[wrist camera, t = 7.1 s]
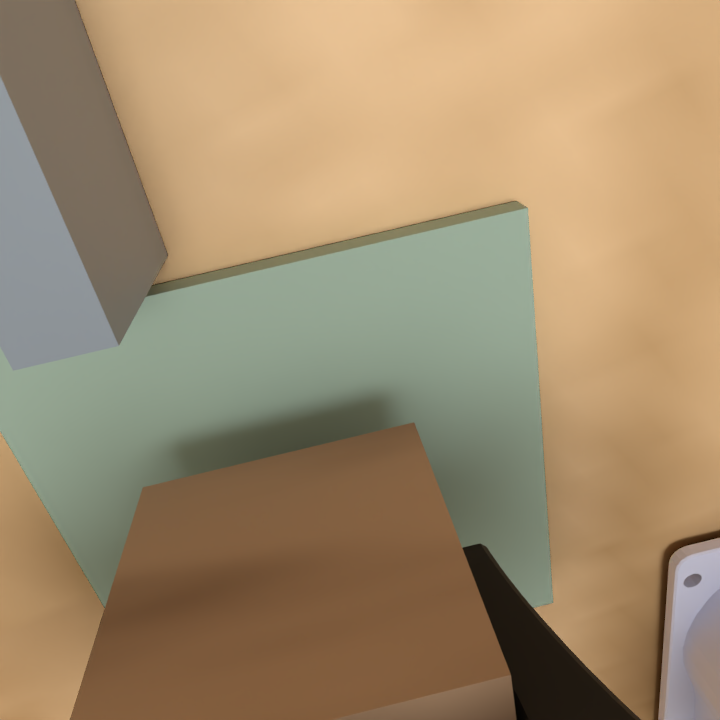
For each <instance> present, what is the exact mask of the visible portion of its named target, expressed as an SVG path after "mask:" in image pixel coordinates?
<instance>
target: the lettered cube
mask: <svg viewBox="0 0 720 720" xmlns="http://www.w3.org/2000/svg"><path fill="white" fill-rule="evenodd" d="M70 720H517V719H516V711H515V703H514V695H513V688H512V680H511V674H510V671H509V669H508V666H507V663H506V661H505V658H504V656H503V653H502V650H501V648H500V645H499V642H498V640H497V637H496V635H495V632H494V629H493V627H492V624H491V622H490V619H489V616H488V614H487V611H486V609H485V606H484V603H483V601H482V598H481V596H480V593H479V590H478V588H477V585H476V582H475V580H474V577H473V575H472V572H471V569H470V567H469V564H468V562H467V559H466V556H465V554H464V551H463V549H462V546H461V543H460V541H459V538H458V536H457V533H456V530H455V528H454V525H453V523H452V520H451V517H450V515H449V512H448V509H447V507H446V504H445V502H444V499H443V496H442V494H441V491H440V489H439V486H438V483H437V481H436V478H435V476H434V473H433V470H432V468H431V465H430V463H429V460H428V457H427V455H426V452H425V449H424V447H423V444H422V442H421V439H420V436H419V434H418V431H417V429H416V426H415V423H414V422H413V423H409V424H405V425H401V426H396V427H392V428H388V429H384V430H380V431H376V432H371V433H367V434H363V435H359V436H355V437H351V438H346V439H342V440H338V441H334V442H330V443H326V444H321V445H317V446H313V447H309V448H305V449H301V450H296V451H292V452H288V453H284V454H280V455H276V456H271V457H267V458H263V459H259V460H255V461H251V462H246V463H242V464H238V465H234V466H230V467H226V468H221V469H217V470H213V471H209V472H205V473H201V474H196V475H192V476H188V477H184V478H180V479H175V480H171V481H167V482H163V483H159V484H155V485H150V486H146V487H143V488H142V491H141V495H140V498H139V501H138V504H137V507H136V511H135V514H134V517H133V520H132V523H131V527H130V530H129V533H128V536H127V539H126V543H125V546H124V549H123V552H122V555H121V559H120V562H119V565H118V568H117V571H116V575H115V578H114V581H113V584H112V587H111V590H110V594H109V597H108V600H107V603H106V606H105V610H104V613H103V616H102V619H101V622H100V626H99V629H98V632H97V635H96V638H95V642H94V645H93V648H92V651H91V654H90V658H89V661H88V664H87V667H86V670H85V674H84V677H83V680H82V683H81V686H80V690H79V693H78V696H77V699H76V702H75V705H74V709H73V712H72V715H71V718H70Z"/></svg>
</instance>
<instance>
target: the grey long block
mask: <svg viewBox="0 0 720 720" xmlns="http://www.w3.org/2000/svg"><path fill="white" fill-rule="evenodd" d="M167 256H168V254H167V252H166V249H165V246H164V243H163V241H162V238H161V235H160V232H159V230H158V227H157V224H156V221H155V219H154V216H153V213H152V210H151V208H150V205H149V202H148V200H147V197H146V194H145V191H144V189H143V186H142V183H141V180H140V178H139V175H138V172H137V169H136V167H135V164H134V161H133V158H132V156H131V153H130V150H129V148H128V145H127V142H126V139H125V137H124V134H123V131H122V128H121V126H120V123H119V120H118V117H117V115H116V112H115V109H114V106H113V104H112V101H111V98H110V96H109V93H108V90H107V87H106V85H105V82H104V79H103V76H102V74H101V71H100V68H99V65H98V63H97V60H96V57H95V54H94V52H93V49H92V46H91V44H90V41H89V38H88V35H87V33H86V30H85V27H84V24H83V22H82V19H81V16H80V13H79V11H78V8H77V5H76V2H75V0H0V347H1V349H2V351H3V353H4V355H5V357H6V358H7V360H8V362H9V364H10V366H11V368H12V369H13V371H14V370H19V369H23V368H27V367H31V366H36V365H40V364H44V363H49V362H53V361H57V360H61V359H66V358H70V357H74V356H78V355H83V354H87V353H91V352H95V351H100V350H104V349H108V348H113V347H117V346H119V345H120V343H121V341H122V339H123V338H124V336H125V334H126V332H127V330H128V328H129V326H130V325H131V323H132V321H133V319H134V317H135V315H136V314H137V312H138V310H139V308H140V306H141V304H142V303H143V301H144V299H145V297H146V295H147V293H148V291H149V290H150V288H151V286H152V284H153V282H154V280H155V279H156V277H157V275H158V273H159V271H160V269H161V268H162V266H163V264H164V262H165V260H166V258H167Z"/></svg>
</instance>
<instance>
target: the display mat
mask: <svg viewBox="0 0 720 720" xmlns="http://www.w3.org/2000/svg"><path fill="white" fill-rule="evenodd" d="M413 422H414V423H415V426H416V429H417V431H418V434H419V436H420V439H421V442H422V444H423V447H424V449H425V452H426V455H427V457H428V460H429V463H430V465H431V468H432V470H433V473H434V476H435V478H436V481H437V483H438V486H439V489H440V491H441V494H442V496H443V499H444V502H445V504H446V507H447V509H448V512H449V515H450V517H451V520H452V523H453V525H454V528H455V530H456V533H457V536H458V538H459V541H460V543H461V546H462V548H463V547H467V546H471V545H475V544H479V543H481V544H482V545H484V546H486V547H487V548H488V549H489V551H490V553H491V554H492V556H493V557H494V558H495V560H496V561H497V563H498V564H499V566H500V567H501V568H502V570H503V571H504V572H505V574H506V575H507V576H508V578H509V579H510V580H511V582H512V583H513V584H514V585H515V587H516V588H517V589H518V590H519V592H520V593H521V594H522V595H523V597H524V598H525V599H526V600H527V601H528V603H529V604H530V605H531V606H532V607H533V608H534V607H539V606H543V605H547V604H551V603H553V592H552V577H551V561H550V546H549V530H548V514H547V499H546V483H545V468H544V452H543V436H542V421H541V405H540V390H539V374H538V359H537V343H536V327H535V312H534V296H533V281H532V265H531V250H530V234H529V218H528V208H527V207H526V206H524V205H522V204H521V203H519V202H517V201H514V202H510V203H506V204H501V205H497V206H493V207H488V208H484V209H480V210H475V211H471V212H467V213H463V214H458V215H454V216H450V217H445V218H441V219H437V220H432V221H428V222H424V223H420V224H415V225H411V226H407V227H402V228H398V229H394V230H389V231H385V232H381V233H377V234H372V235H368V236H364V237H359V238H355V239H351V240H346V241H342V242H338V243H334V244H329V245H325V246H321V247H316V248H312V249H308V250H303V251H299V252H295V253H291V254H286V255H282V256H278V257H273V258H269V259H265V260H260V261H256V262H252V263H248V264H243V265H239V266H235V267H230V268H226V269H222V270H217V271H213V272H209V273H205V274H200V275H196V276H192V277H187V278H183V279H179V280H174V281H170V282H166V283H162V284H157V285H153V286H151V288H150V290H149V291H148V293H147V295H146V297H145V299H144V301H143V303H142V304H141V306H140V308H139V310H138V312H137V314H136V315H135V317H134V319H133V321H132V323H131V325H130V326H129V328H128V330H127V332H126V334H125V336H124V338H123V339H122V341H121V343H120V345H119V346H117V347H113V348H108V349H104V350H100V351H95V352H91V353H87V354H83V355H78V356H74V357H70V358H66V359H61V360H57V361H53V362H49V363H44V364H40V365H36V366H31V367H27V368H23V369H19V370H14V371H13V369H12V368H11V366H10V364H9V362H8V360H7V358H6V357H5V355H4V353H3V351H2V349H1V347H0V432H1V434H2V435H3V437H4V439H5V440H6V442H7V444H8V445H9V447H10V449H11V450H12V452H13V454H14V456H15V457H16V459H17V461H18V462H19V464H20V466H21V467H22V469H23V471H24V472H25V474H26V476H27V478H28V479H29V481H30V483H31V484H32V486H33V488H34V489H35V491H36V493H37V494H38V496H39V498H40V500H41V501H42V503H43V505H44V506H45V508H46V510H47V511H48V513H49V515H50V516H51V518H52V520H53V522H54V523H55V525H56V527H57V528H58V530H59V532H60V533H61V535H62V537H63V538H64V540H65V542H66V544H67V545H68V547H69V549H70V550H71V552H72V554H73V555H74V557H75V559H76V560H77V562H78V564H79V566H80V567H81V569H82V571H83V572H84V574H85V576H86V577H87V579H88V581H89V582H90V584H91V586H92V588H93V589H94V591H95V593H96V594H97V596H98V598H99V599H100V601H101V603H102V604H103V606H104V608H105V606H106V603H107V600H108V597H109V594H110V590H111V587H112V584H113V581H114V578H115V575H116V571H117V568H118V565H119V562H120V559H121V555H122V552H123V549H124V546H125V543H126V539H127V536H128V533H129V530H130V527H131V523H132V520H133V517H134V514H135V511H136V507H137V504H138V501H139V498H140V495H141V491H142V488H143V487H146V486H150V485H155V484H159V483H163V482H167V481H171V480H175V479H180V478H184V477H188V476H192V475H196V474H201V473H205V472H209V471H213V470H217V469H221V468H226V467H230V466H234V465H238V464H242V463H246V462H251V461H255V460H259V459H263V458H267V457H271V456H276V455H280V454H284V453H288V452H292V451H296V450H301V449H305V448H309V447H313V446H317V445H321V444H326V443H330V442H334V441H338V440H342V439H346V438H351V437H355V436H359V435H363V434H367V433H371V432H376V431H380V430H384V429H388V428H392V427H396V426H401V425H405V424H409V423H413Z"/></svg>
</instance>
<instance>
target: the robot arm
mask: <svg viewBox="0 0 720 720" xmlns="http://www.w3.org/2000/svg"><path fill="white" fill-rule="evenodd" d="M462 549H463V551H464V554H465V556H466V559H467V562H468V564H469V567H470V569H471V572H472V575H473V577H474V580H475V582H476V585H477V588H478V590H479V593H480V596H481V598H482V601H483V603H484V606H485V609H486V611H487V614H488V616H489V619H490V622H491V624H492V627H493V629H494V632H495V635H496V637H497V640H498V642H499V645H500V648H501V650H502V653H503V656H504V658H505V661H506V663H507V666H508V669H509V671H510V674H511V680H512V688H513V695H514V703H515V711H516V719H517V720H641V719H640V718H639V717H637V716H636V715H635V714H634V713H633V712H632V711H631V710H630V709H629V708H628V707H627V706H626V705H625V704H624V703H623V702H622V701H621V700H619V699H618V698H617V697H616V696H615V695H614V694H613V693H612V692H611V691H610V690H609V689H608V688H607V687H606V686H605V685H604V684H603V683H602V682H601V681H600V680H599V679H598V678H597V677H596V676H595V675H594V674H593V673H592V672H591V671H590V670H589V669H588V668H587V667H586V666H585V665H584V664H583V663H582V662H581V661H580V659H579V658H578V657H577V656H576V655H575V654H574V653H573V652H572V651H571V650H570V649H569V648H568V647H567V646H566V645H565V643H564V642H563V641H562V640H561V639H560V638H559V637H558V636H557V635H556V633H555V632H554V631H553V630H552V629H551V628H550V627H549V626H548V625H547V624H546V622H545V621H544V620H543V619H542V618H541V617H540V616H539V614H538V613H537V612H536V611H535V610H534V609H533V607H532V606H531V605H530V604H529V603H528V601H527V600H526V599H525V598H524V597H523V595H522V594H521V593H520V592H519V590H518V589H517V588H516V587H515V585H514V584H513V583H512V582H511V580H510V579H509V578H508V576H507V575H506V574H505V572H504V571H503V570H502V568H501V567H500V566H499V564H498V563H497V561H496V560H495V558H494V557H493V556H492V554H491V553H490V551H489V549H488V548H487V547H486V546H484V545H482V544H481V543H479V544H475V545H471V546H467V547H463V548H462ZM658 720H720V538H716V539H712V540H708V541H704V542H699V543H695V544H691V545H687V546H684V547H682V548H679V549H678V550H677V551H675V552H674V553H673V555H672V556H671V558H670V561H669V569H668V583H667V598H666V613H665V628H664V643H663V657H662V672H661V687H660V702H659V717H658Z"/></svg>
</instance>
